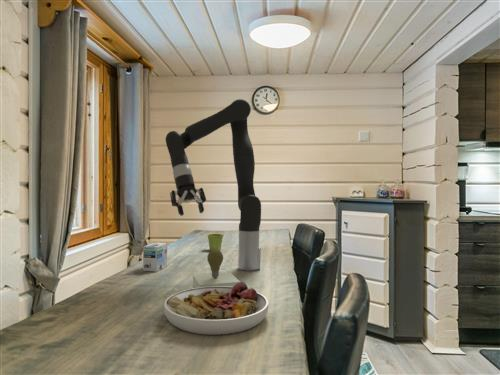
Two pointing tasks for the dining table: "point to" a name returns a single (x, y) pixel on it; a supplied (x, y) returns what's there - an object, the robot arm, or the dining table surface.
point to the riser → (214, 280)
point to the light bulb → (215, 262)
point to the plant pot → (215, 241)
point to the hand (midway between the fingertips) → (192, 213)
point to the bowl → (216, 309)
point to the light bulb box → (154, 257)
